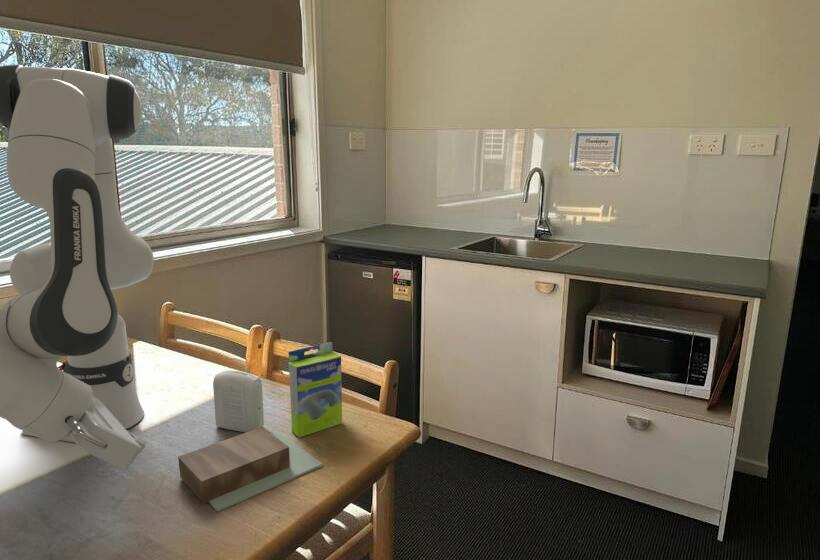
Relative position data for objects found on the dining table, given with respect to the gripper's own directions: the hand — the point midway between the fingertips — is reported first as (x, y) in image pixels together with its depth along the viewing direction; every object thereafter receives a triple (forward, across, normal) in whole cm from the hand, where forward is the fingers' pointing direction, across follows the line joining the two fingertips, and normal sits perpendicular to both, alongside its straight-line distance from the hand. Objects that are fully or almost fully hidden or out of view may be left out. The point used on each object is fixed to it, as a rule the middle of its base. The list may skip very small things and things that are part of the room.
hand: (139, 446), depth 88 cm
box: (+33, +5, -17) cm, 38 cm away
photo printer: (+25, +16, -9) cm, 31 cm away
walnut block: (+11, 0, +1) cm, 11 cm away
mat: (+21, 0, -5) cm, 21 cm away
